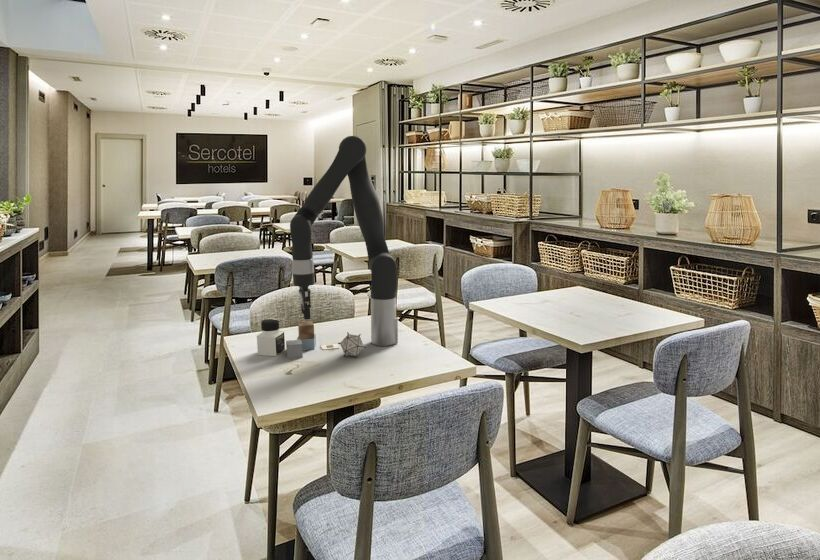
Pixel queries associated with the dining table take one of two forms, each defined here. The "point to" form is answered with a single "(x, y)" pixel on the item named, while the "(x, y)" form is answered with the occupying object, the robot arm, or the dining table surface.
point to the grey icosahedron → (352, 345)
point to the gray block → (294, 349)
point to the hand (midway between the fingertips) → (306, 316)
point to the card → (329, 346)
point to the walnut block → (306, 330)
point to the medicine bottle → (270, 338)
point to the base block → (308, 343)
